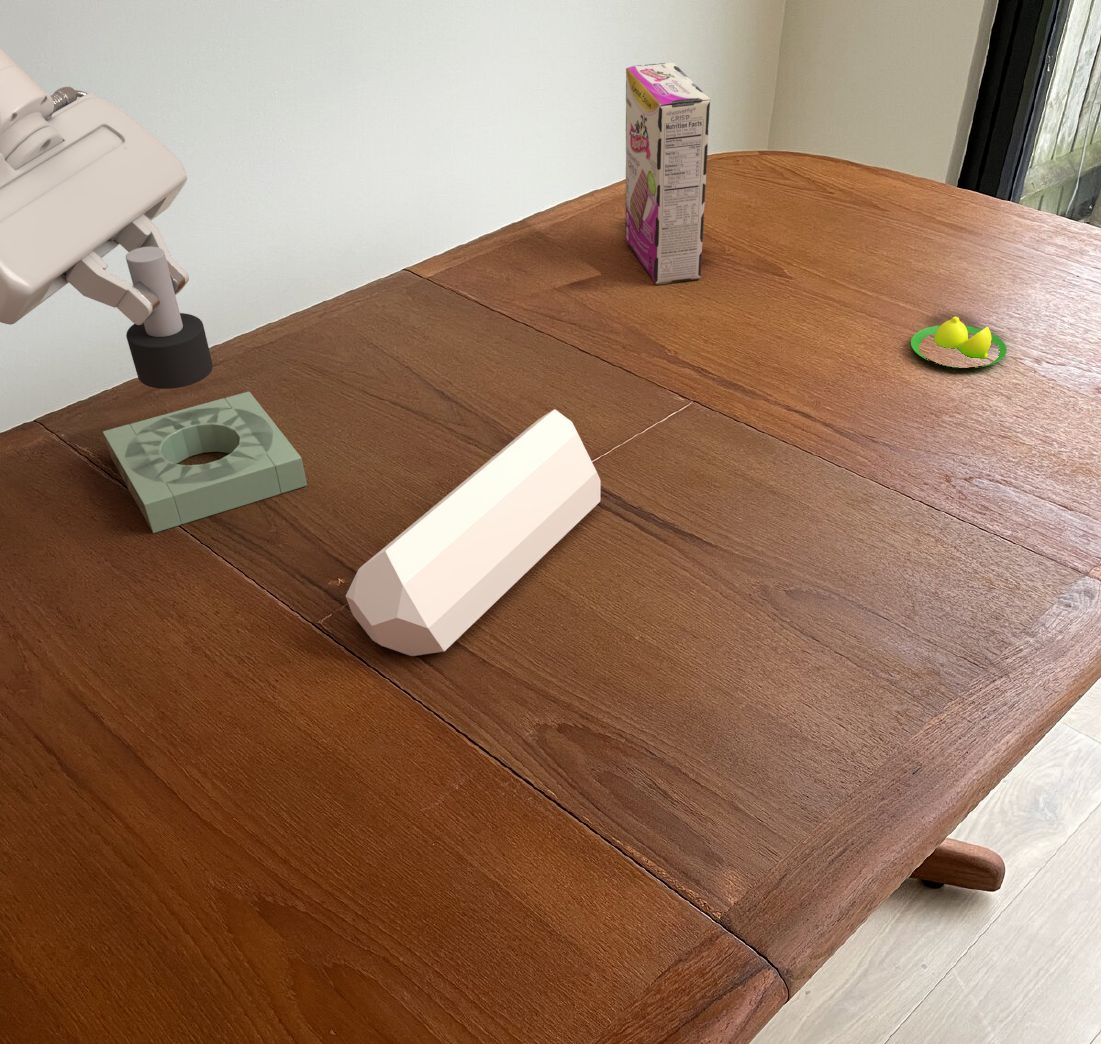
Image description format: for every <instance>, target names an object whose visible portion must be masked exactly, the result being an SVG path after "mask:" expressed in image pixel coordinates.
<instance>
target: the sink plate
mask: <svg viewBox="0 0 1101 1044" xmlns="http://www.w3.org/2000/svg"><path fill="white" fill-rule="evenodd" d="M102 434H103V437H104V441H105V443H106V446H107V450H108V453H109V456H110V459H111V461H112V463H113V465H114V466H115V468H116V470H117V471H118V474H119V475H120V477H121V479H122V480H123V482H124V484H125V486H126V487H127V489H128V492H129V493H130V494H131V496H132V498H133V500H134V502H135V504H136V505H137V508H138V509H139V511H140V512H141V514H142V517H143V518H144V520H145V522H146V523H147V525H148V527H149V528H150V530H151V532H152V534H155V533H159V532H162V531H165V530H169V529H171V528H175V527H178V526H181V525H185V524H188V523H191V522H194V521H197V520H202V519H203V518H204V519H205V518H207V517H211V516H215V515H217V514H220V513H221V514H222V513H224V512H227V511H231V510H233V509H236V508H240V507H243V506H246V505H249V504H250V505H251V504H252V503H255V502H259V501H262V500H266V499H269V498H272V497H275V496H279V495H281V494H284V493H288V492H291V491H294V490H298V489H300V488H301V489H302V488H305V487H307V486H308V483H307V482H308V481H307V477H306V472H305V467H304V463H303V458H302V456H301V455H300V453H298V451H297V450H296V448H295V447H294V446H293V445H292V444H291V442H290V440H288V438H287V437H286V436H285V435H284V433H283V432H282V431H281V430H280V429H279V427H278V426H277V425H276V423H275V422H274V420H272V418H271V417H270V415H269V414H268V413H267V412H266V410H265V409H264V408H263V407H262V405H261V404H260V403H259V401H258V400H257V399H256V397H255V396H254V395H253V394H252V392H251V391H249V390H248V391H245V392H242V393H237V394H234V395H231V396H227V397H225V398H223V397H222V398H219V399H216V400H215V399H214V400H212V401H208V402H205V403H201V404H197V405H194V406H190V407H186V408H183V409H180V410H176V411H172V412H168V413H165V414H161V415H158V416H154V417H150V418H147V419H143V420H140V421H136V422H132V423H130V424H129V423H128V424H125V425H124V424H123V425H120V426H117V427H113V428H110V429H106V430H103V431H102ZM217 452H218V453H225V454H227V455H225V456H223V457H222V458H220V459H217V460H213V461H210V462H206V463H201V464H192V465H191V464H189V465H188V464H187V465H186V464H179V463H181V462H183V461H185V460H186V459H188V458H191V457H193V456H197V455H201V454H206V453H217Z"/></svg>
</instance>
